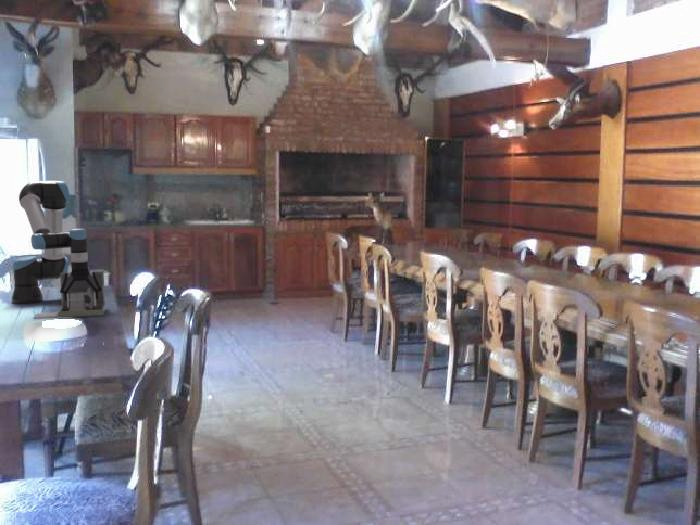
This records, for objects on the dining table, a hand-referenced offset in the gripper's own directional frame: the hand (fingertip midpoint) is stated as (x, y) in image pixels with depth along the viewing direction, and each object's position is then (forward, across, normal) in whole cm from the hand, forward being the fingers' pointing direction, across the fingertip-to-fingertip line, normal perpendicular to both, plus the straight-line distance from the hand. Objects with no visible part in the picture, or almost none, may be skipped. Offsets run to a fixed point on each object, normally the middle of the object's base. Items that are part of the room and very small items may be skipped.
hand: (82, 306), depth 357 cm
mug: (+3, 0, 0) cm, 3 cm away
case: (+3, 0, 0) cm, 3 cm away
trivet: (+3, -16, -1) cm, 16 cm away
